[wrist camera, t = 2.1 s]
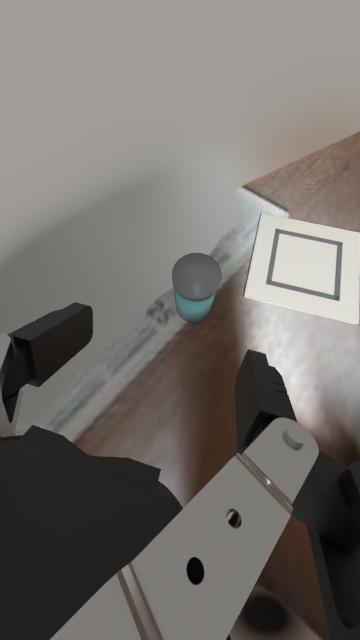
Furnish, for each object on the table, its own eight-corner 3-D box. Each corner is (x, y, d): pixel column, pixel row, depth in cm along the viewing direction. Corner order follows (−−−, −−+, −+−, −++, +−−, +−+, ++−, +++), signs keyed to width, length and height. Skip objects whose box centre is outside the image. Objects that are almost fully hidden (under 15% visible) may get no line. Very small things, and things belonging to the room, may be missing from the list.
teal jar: (214, 295, 28) (226, 259, 20) (206, 327, 26) (215, 301, 19) (181, 286, 28) (179, 248, 20) (171, 317, 27) (166, 289, 19)
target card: (358, 234, 30) (361, 232, 30) (355, 324, 26) (359, 323, 25) (260, 215, 32) (261, 212, 31) (243, 297, 27) (244, 295, 27)
